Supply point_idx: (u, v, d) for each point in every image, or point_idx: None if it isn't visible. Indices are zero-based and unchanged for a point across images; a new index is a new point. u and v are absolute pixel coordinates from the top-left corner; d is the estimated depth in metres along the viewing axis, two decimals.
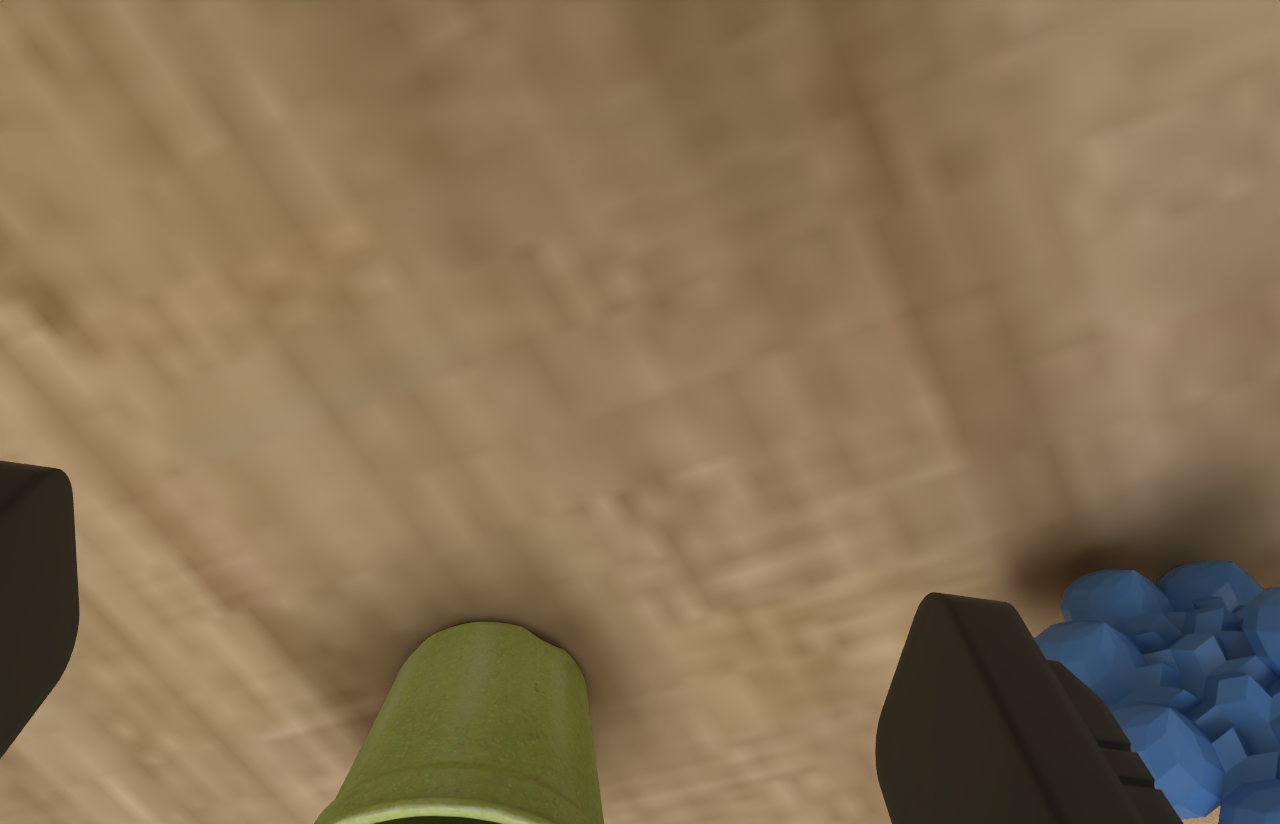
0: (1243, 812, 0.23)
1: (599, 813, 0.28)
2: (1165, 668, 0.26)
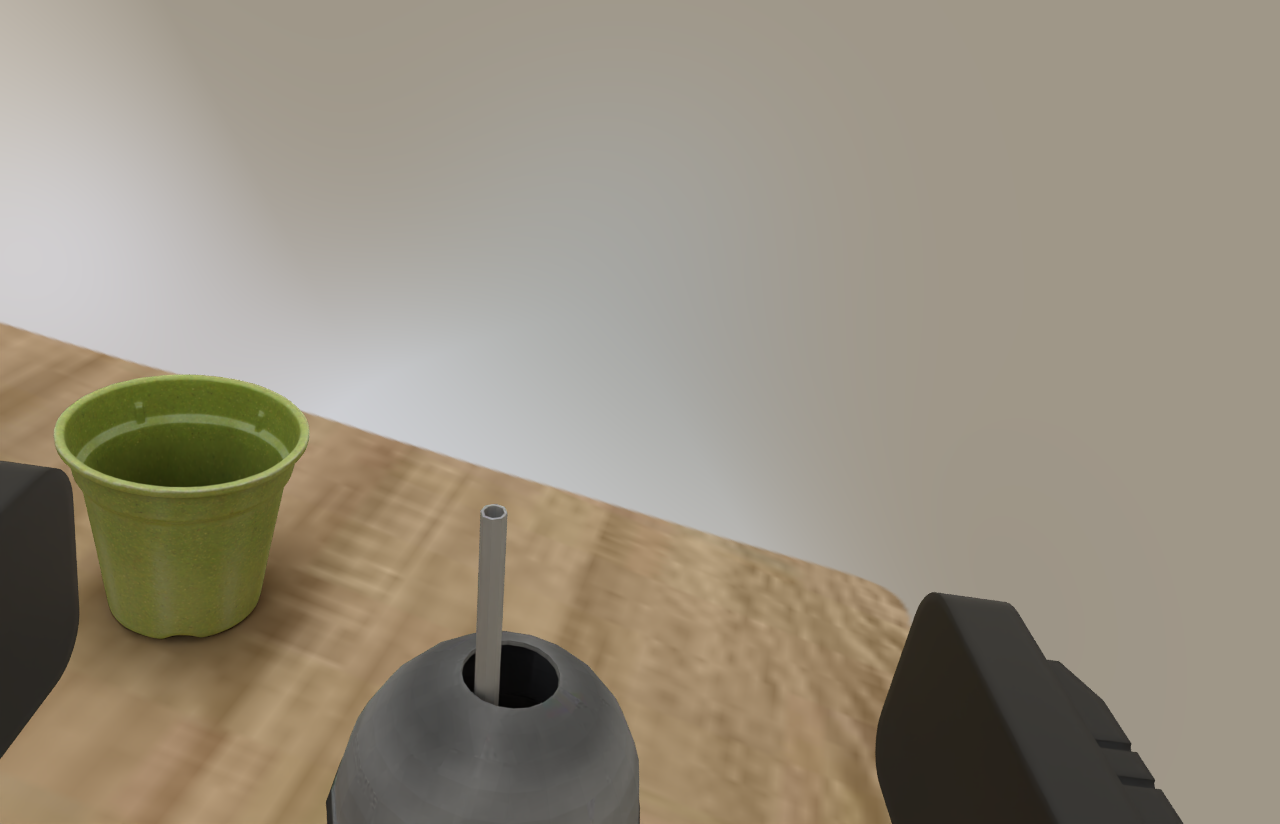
0: None
1: (114, 458, 0.43)
2: None
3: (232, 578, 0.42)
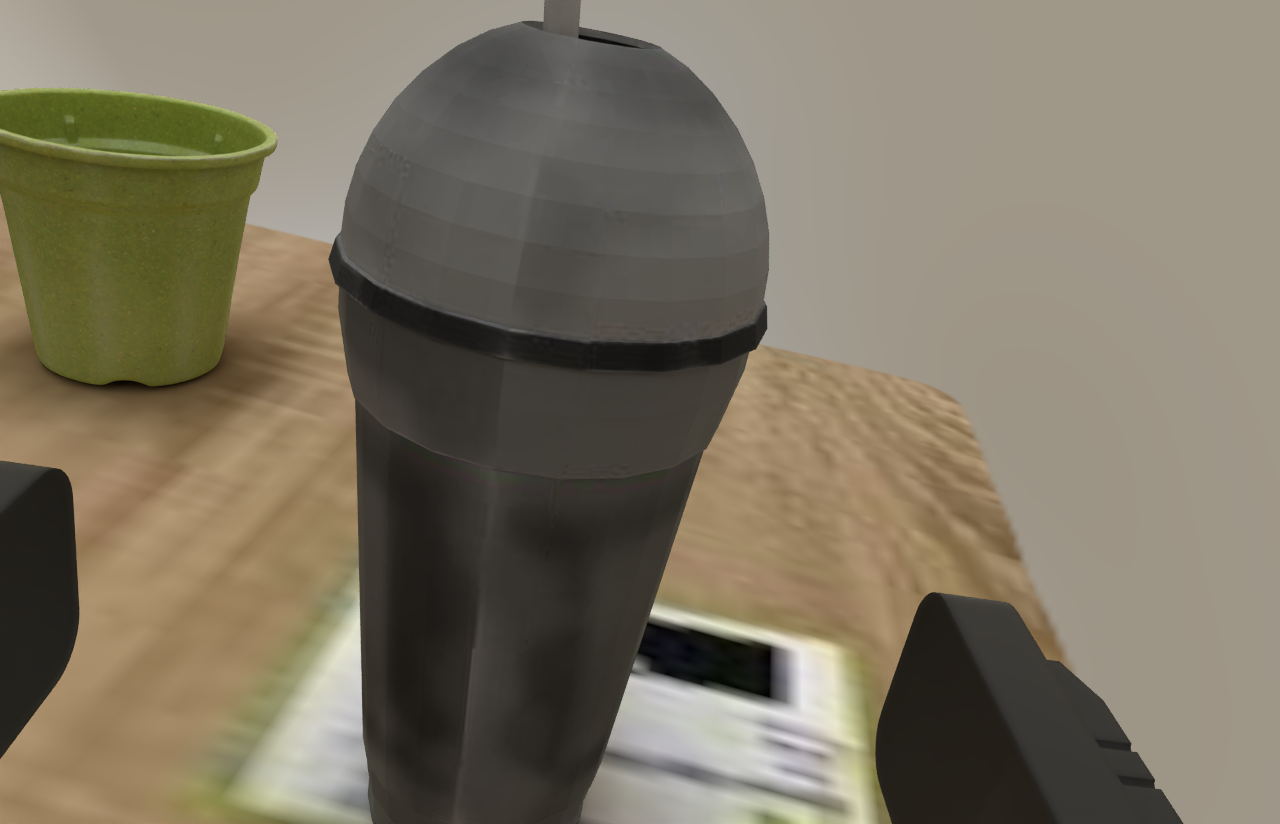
0: None
1: None
2: None
3: (187, 306, 0.35)
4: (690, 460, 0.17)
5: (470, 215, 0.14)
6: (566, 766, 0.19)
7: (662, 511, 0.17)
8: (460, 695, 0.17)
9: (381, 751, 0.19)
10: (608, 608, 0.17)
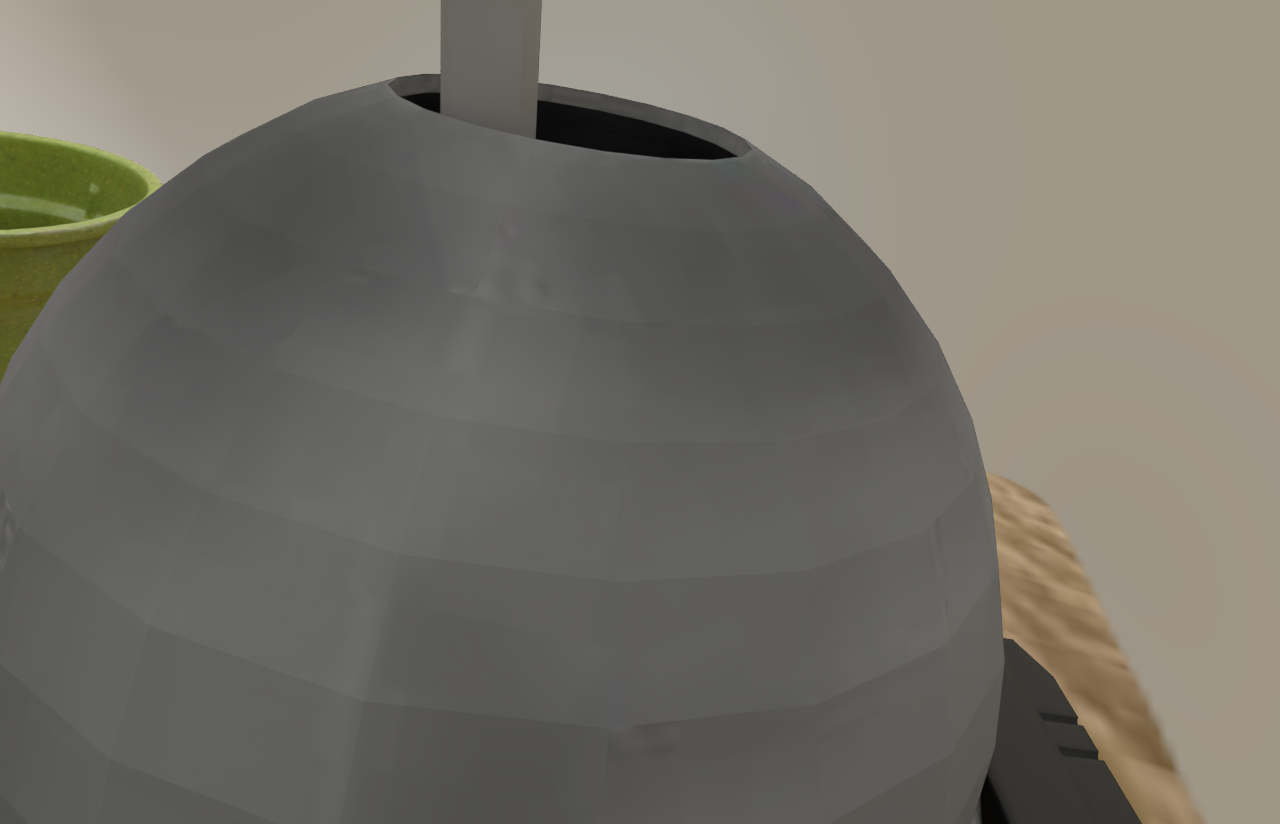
0: None
1: None
2: None
3: None
4: None
5: (172, 730, 0.04)
6: None
7: None
8: None
9: None
10: None
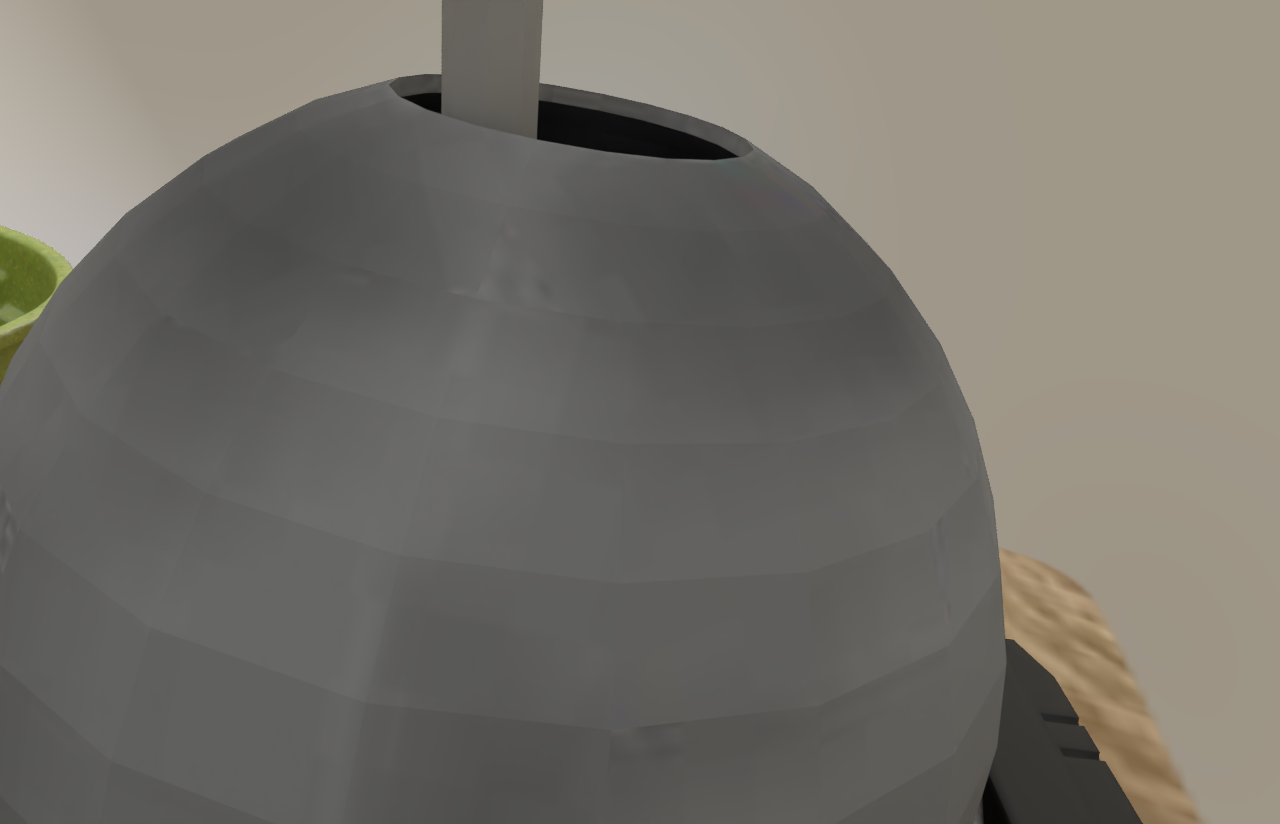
0: None
1: None
2: None
3: None
4: None
5: (174, 730, 0.04)
6: None
7: None
8: None
9: None
10: None
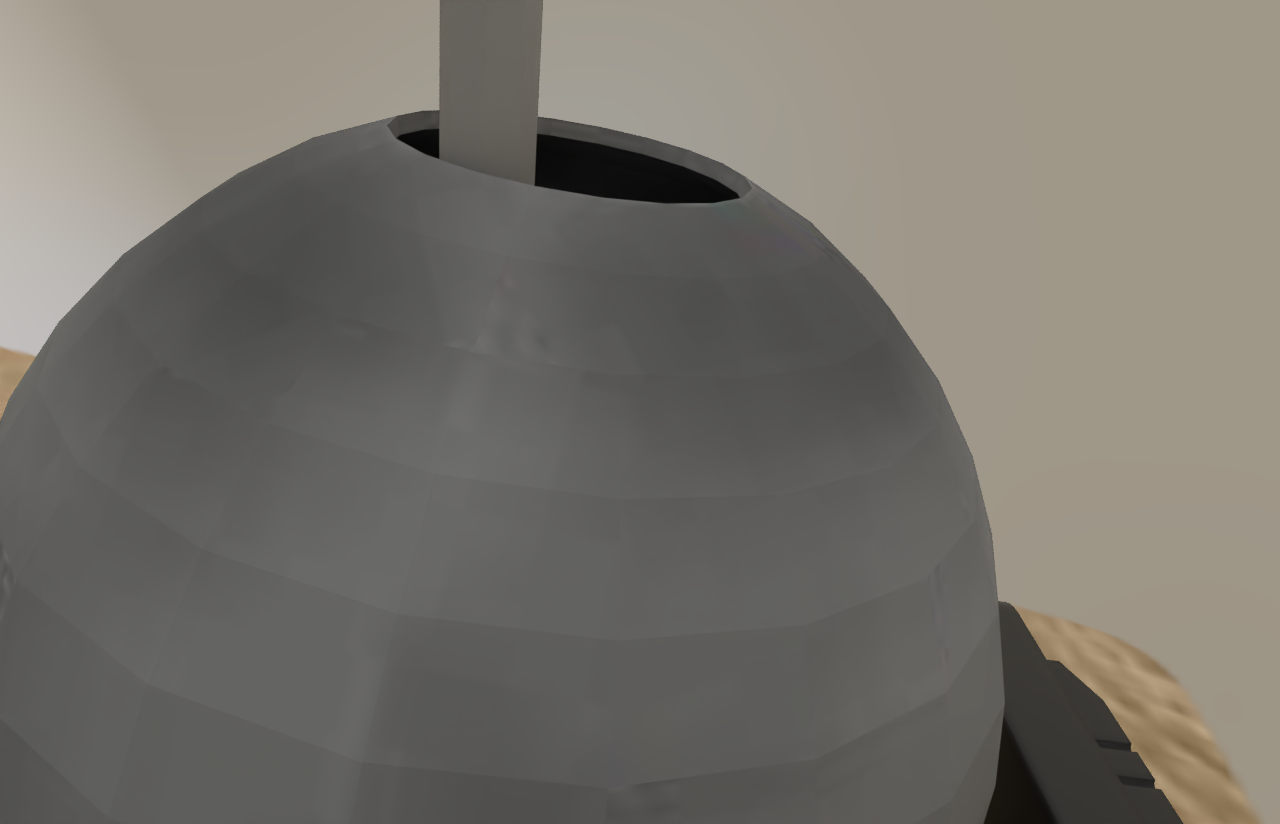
0: None
1: None
2: None
3: None
4: None
5: (172, 785, 0.04)
6: None
7: None
8: None
9: None
10: None
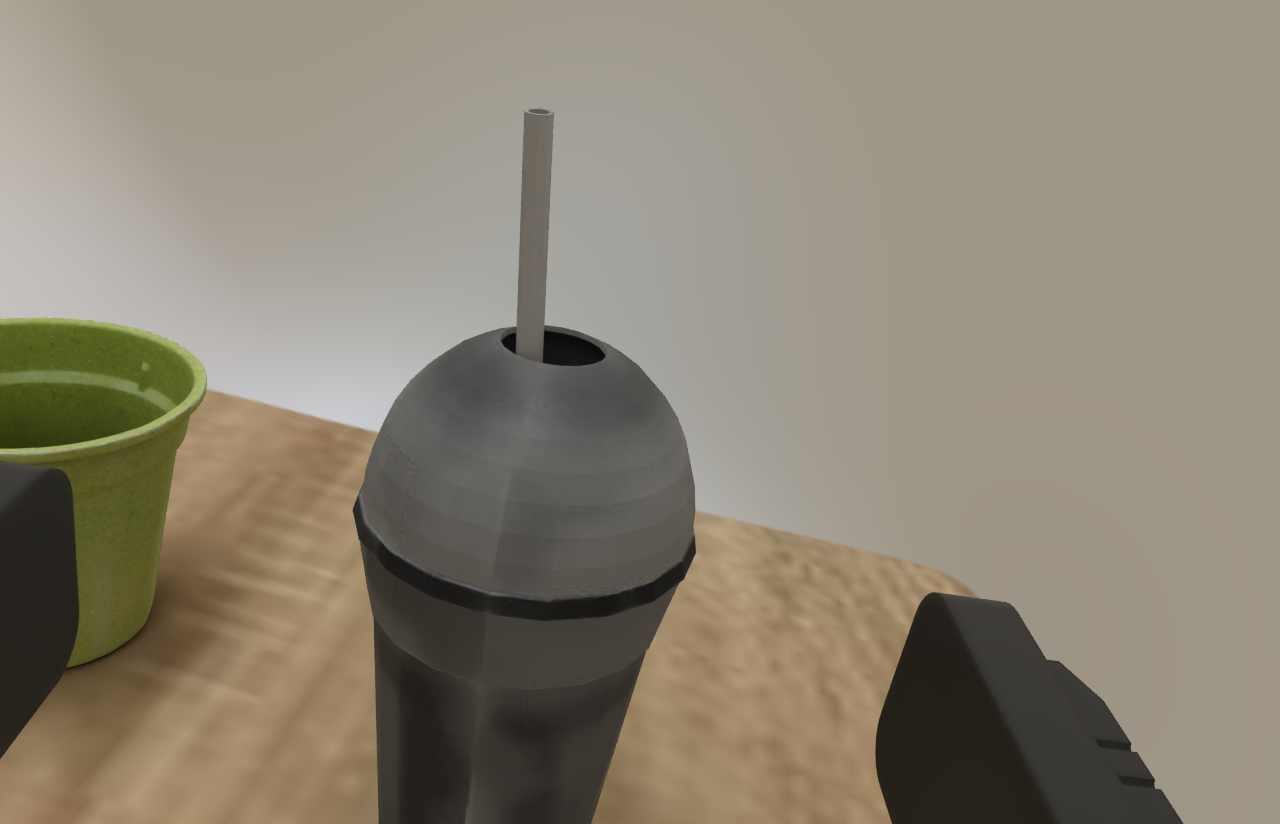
0: None
1: None
2: None
3: (102, 583, 0.31)
4: (636, 658, 0.22)
5: (461, 508, 0.19)
6: None
7: (614, 698, 0.22)
8: None
9: None
10: (573, 772, 0.22)
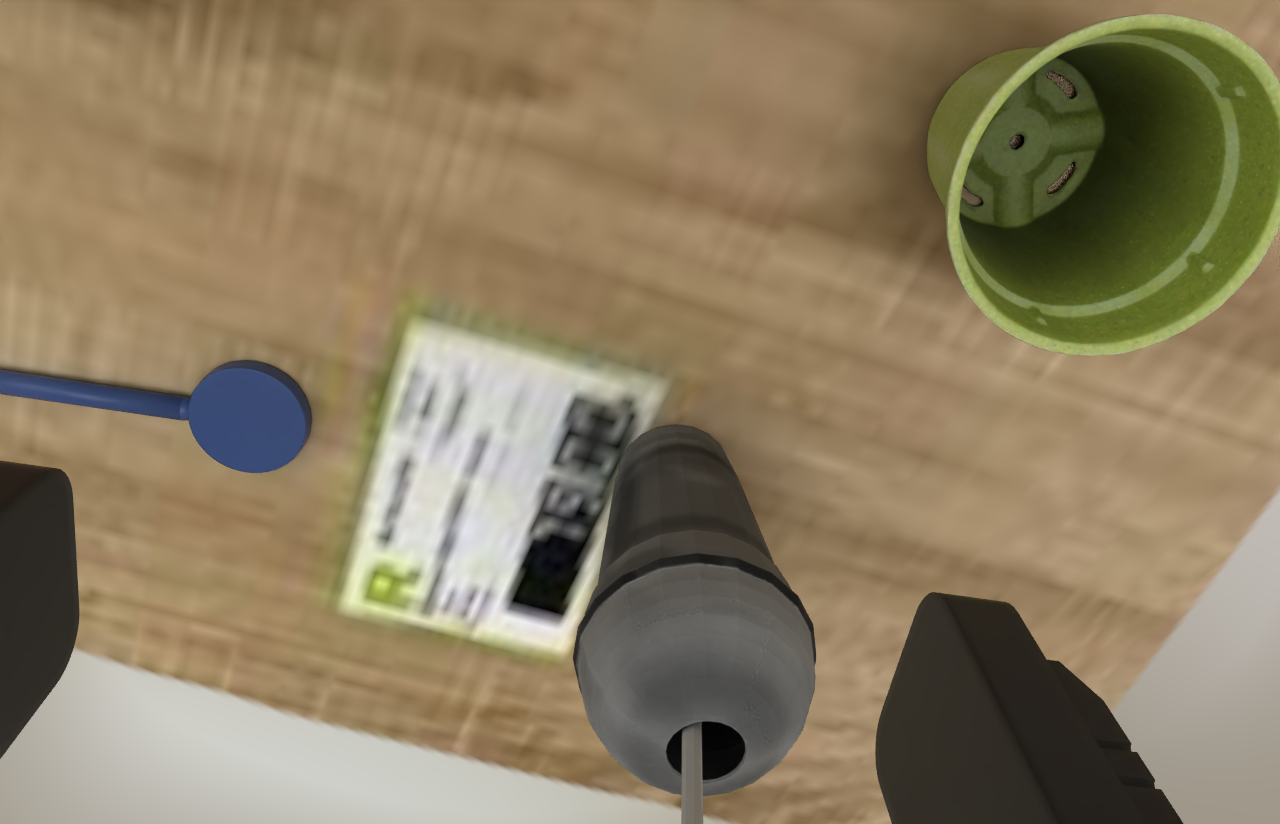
0: None
1: (1161, 58, 0.29)
2: None
3: None
4: None
5: (605, 646, 0.28)
6: None
7: None
8: (610, 516, 0.36)
9: (643, 455, 0.38)
10: None
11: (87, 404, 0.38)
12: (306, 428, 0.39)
